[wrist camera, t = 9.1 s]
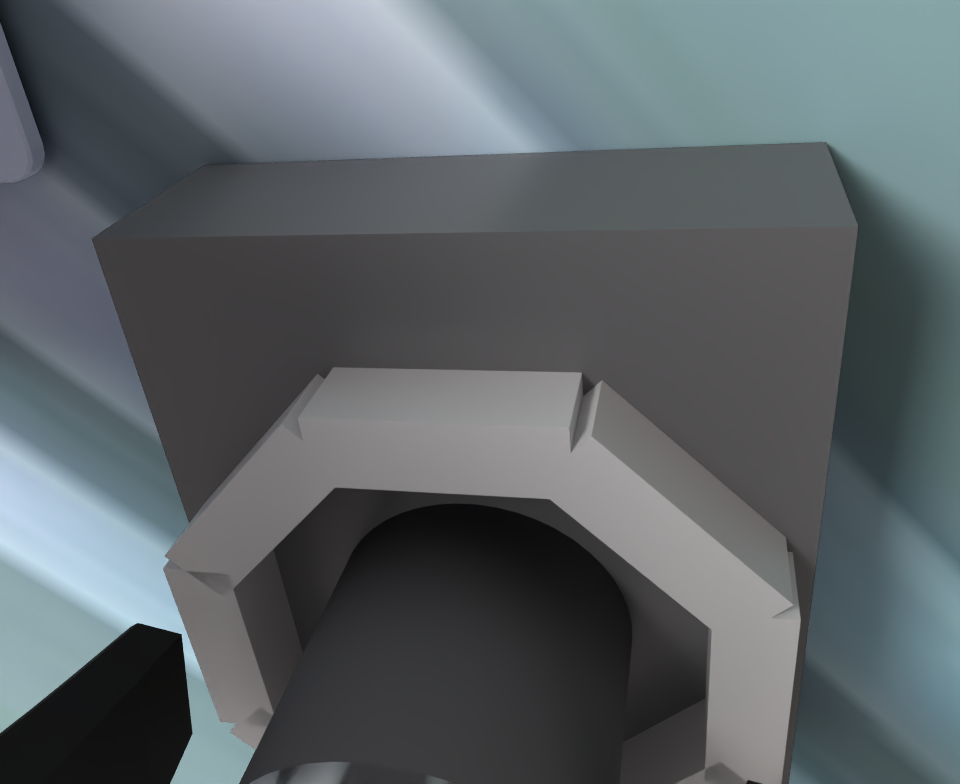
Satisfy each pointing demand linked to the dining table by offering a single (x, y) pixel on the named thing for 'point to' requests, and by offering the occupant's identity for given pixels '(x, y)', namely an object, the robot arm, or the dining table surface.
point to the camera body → (507, 401)
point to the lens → (458, 661)
